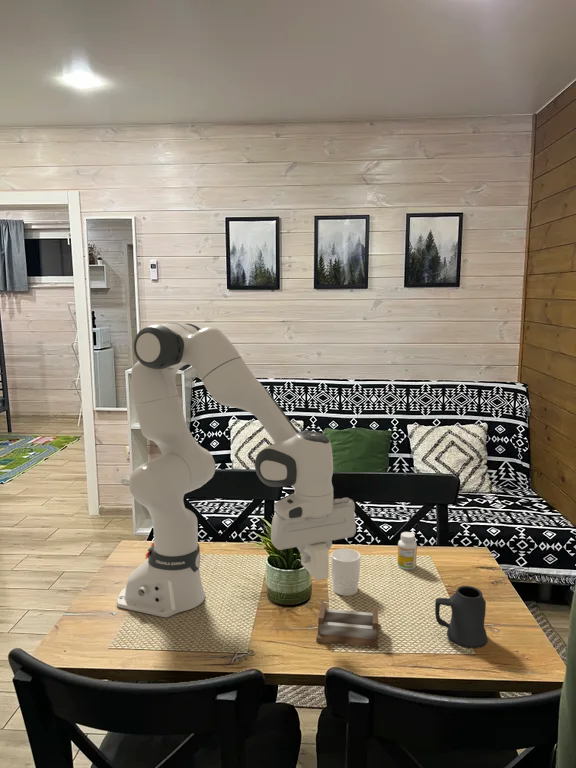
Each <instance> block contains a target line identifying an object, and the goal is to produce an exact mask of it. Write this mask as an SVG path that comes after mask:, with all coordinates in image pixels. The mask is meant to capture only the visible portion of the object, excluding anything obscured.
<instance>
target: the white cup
mask: <svg viewBox="0 0 576 768" xmlns="http://www.w3.org/2000/svg"><path fill="white" fill-rule="evenodd" d="M361 557H362V555H361V553H360V552H359V551H357V550H356V549H352V548H337V549H335V550H333V551H332V552H331V553H330V559H331V560H330V561H331V579H332V580H331V581H332V591H333V592H334V593H335V594H337V595H339V596H346V597H348V596H352V595H355V594H357V592H358V589H359V582H360V571H361Z"/></svg>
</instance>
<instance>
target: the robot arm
mask: <svg viewBox="0 0 576 768" xmlns="http://www.w3.org/2000/svg"><path fill="white" fill-rule="evenodd" d="M133 352H134V355H135V357H136V360H137V362H136V363H134V365H133V366H132V368H131V373H130V375H131V388H132V396H133V401H134V402H133V403H134V405H135V411H136V415H137V420H138V424H139V428H140V432H141V434H142V436H143V437H144V438H145V439H147V440H149V441H152V442H154V443H155V444H156V446H157V447H158V449H159V450H160V452H161V455H162V456H159V457H156V458H153V459H149V460H147V461H146V462H144V463H142V464H141V465H139V466H138V467H136V468H135V469H134V470H132V472H131V474H130V476H129V480H128V484H129V486H128V487H129V491H130V493H131V496H132V498H133V499H134V500H135V501H136V502H137V503H138V504H140V505H142V506H144V508H145V509H147V511H148V513H149V515H150V518H151V522H152V529H153V542H152V543H151V545H150V547H149V548H148V549H147V552H146V553H145V558H144V559H146V560H145V561H144V562H143V563H141V564H140V565H138V566H137V567H136V568H135V569H134V570H133V571H132V572H131V573H130V575H129V577H128V578H127V582H126V584H125V585H126V586H125V587H124V588H122V590H121V591H120V592H119V594H118V596H117V598H116V606H117V608H121V609H125V610H130V611H134V612H139V613H143V614H147V615H148V614H149V615H152V616H156V617H160V618H169V617H171V616H173V615H176V614H178V613H182V612H186V611H190V610H192V609H195V608H196V607H198V606H199V605H201V604H202V603H203V602H204V600H205V599H206V593H205V590H204V587H203V583H202V578H201V570H200V567H201V550H200V544H199V542H198V540H199V536H198V534H199V533H198V518H197V516H196V514H195V513H194V512H193V511H192V510H190V509H188V508H186V506H185V502H184V496H185V494H187V493H190V492H192V491H195V490H197V489H200V488H201V487H203V486H204V485H206V484H207V482H209V481H210V480H211V479H212V478H214V475H215V472H216V462H215V459H214V457H213V455H212V454H211V452H210V451H209V450H208V449H206V448H204V447H203V446H201V445H200V444H199V443H198V442H197V441H196V439H195V438H194V437H193V435H192V433H191V431H190V429H189V427H188V425H187V423H186V420H185V419H186V418H185V415H184V410H183V407H182V405H181V404H182V403H181V400H180V396H179V392H178V388H177V384H176V377H177V373H178V371H182V372H184V371H186V370H187V369H189V368H191V367H192V368H193V369H194V370H195V372H196V373H197V376H198V377H199V379H200V380H201V381H200V382H202V384H203V385H204V387H205V389H206V390H207V392H208V393H209V395H210V396H211V397H212V398H213V400H215V402H217V403H218V404H220V405H222V406H225V407H229V408H230V407H231V408H236V409H240V410H242V411H246V412H248V413H250V414H252V415H253V416H254V417H255V418H257V420H258V421H259V423H260V425H262V426H263V428H264V429H265V431H266V432H267V433H268V434H267V435H269V436H270V438H271V439H272V441H273V442H274V443H272V444H270V445H268V446H266V447H264V448H263V449H262V450H260V451H259V452H258V453H257V454H256V457H255V460H254V470H255V472H256V476H257V477H258V479H259V480H260V481H261V482H262V483H263V484H264V485H266V486H268V487H273V488H281V487H282V488H283V487H293V488H294V492H293V493H291V494H290V495H288V496H286V497H283V498H282V499H280V500H278V501H276V502H275V503H274V505H273V506H274V511H275V512H276V513H275V514H274V515H273V518H272V521H271V528H270V542H271V544H272V545H273V546H274V547H275V548H276V549H277V550H278V551H281V550H287V549H293V548H296V549H298V551H299V553H300V560H301V559H302V562H303V563H307V562H310V555H309V554H308V553H307V552H306V553H305V552H304V550H305V549H306V545H310V544H316V543H321V542H322V543H323V544H324V545H325V546H326V547H327V548H329V550H331V548H332V546H333V541H337V540H342V539H348V538H353V537H354V536H355V534H356V532H357V526H356V525H357V524H356V518H355V510H356V505H355V502H354V499H351V498H349V497H343V498H334V486H333V483H332V479H333V478H332V477H333V473H334V458H333V449H332V444H331V440H330V439H329V437H327V436H326V435H324V433H321V432H318V431H314V430H303V431H300V430H299V429H298V428H297V427H295V425H294V424H293V423H292V421H291V420H290V419H289V417H288V416H287V414H286V413H285V412H284V410H283V409H282V408H281V406H280V405H279V403H278V402H277V401H276V400H275V398H274V397H273V395H271V393H270V392H269V391H268V389H266V387H265V386H264V385H263V384H262V383H261V382H260V381H259V380H258V379H257V378H256V376H255V375H254V374H253V373H252V371H251V370H250V368H249V366H248V365H247V364H246V362H245V360H244V359H243V357H242V356H241V355H240V352H239V351H238V349H236V346H235V345H234V344H233V343H232V342H231V340H230V339H229V338H228V336H226V335H225V334H224V333H223V332H222V330H220V329H219V328H216V327H214V326H208V327H202V328H201V327H199V326H197V325H195V324H192V323H180V322H168V323H162V324H159V323H158V324H157V323H156V324H151V325H147V326H146V327H144V328H142V329H141V330H139V331H138V333H137V334H136V335H135V337H134V341H133ZM303 549H304V550H303Z"/></svg>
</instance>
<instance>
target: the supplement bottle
mask: <svg viewBox="0 0 576 768" xmlns="http://www.w3.org/2000/svg"><path fill="white" fill-rule="evenodd" d="M415 535H416V534H414V533H413V532H410V531H403V532H401V533H400V539H399V540H398V542H397V566H398V567H399V568H400V569H403V570H407V571H408V570H413V569H415V568H416V566H417V550H418V546H417V545H418V544H417V541H415V540H416V537H415Z"/></svg>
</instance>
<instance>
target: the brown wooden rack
mask: <svg viewBox="0 0 576 768" xmlns="http://www.w3.org/2000/svg"><path fill="white" fill-rule="evenodd" d="M317 623H318V626H317V633H316V642H317V643H325V644H333V645H335V644H336V645H344V646H354V645H359V646H358V647H364V646H369V647H368V648H374V647H378V648H379V625H380V624H379V607H375V606H373V607H372V612H363V611H353V610H342V609H332V608H327V602H321V604H320V608H319V612H318V617H317ZM346 644H347V645H346Z"/></svg>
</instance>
